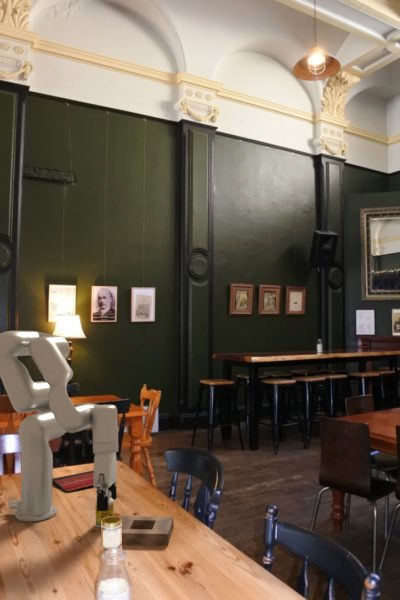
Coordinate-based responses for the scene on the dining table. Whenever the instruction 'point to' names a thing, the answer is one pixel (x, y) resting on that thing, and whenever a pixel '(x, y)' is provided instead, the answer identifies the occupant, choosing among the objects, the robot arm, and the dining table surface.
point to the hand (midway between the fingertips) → (107, 504)
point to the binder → (75, 482)
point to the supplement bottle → (105, 513)
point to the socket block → (146, 530)
